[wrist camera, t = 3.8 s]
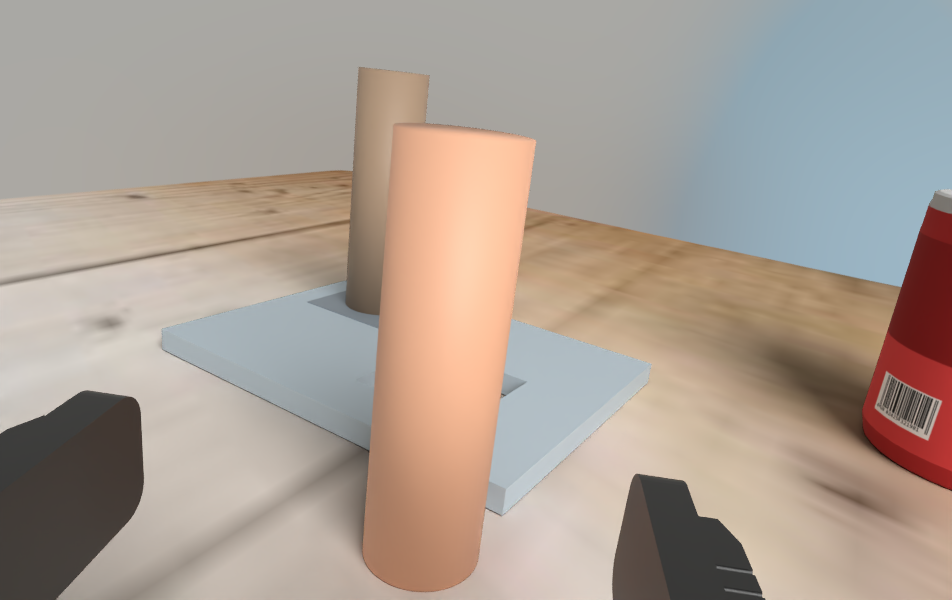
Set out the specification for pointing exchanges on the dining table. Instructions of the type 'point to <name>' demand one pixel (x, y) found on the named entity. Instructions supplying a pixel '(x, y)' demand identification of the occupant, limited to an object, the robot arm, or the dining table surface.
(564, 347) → the board
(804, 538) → the dining table surface
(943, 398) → the canned food
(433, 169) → the wooden peg
